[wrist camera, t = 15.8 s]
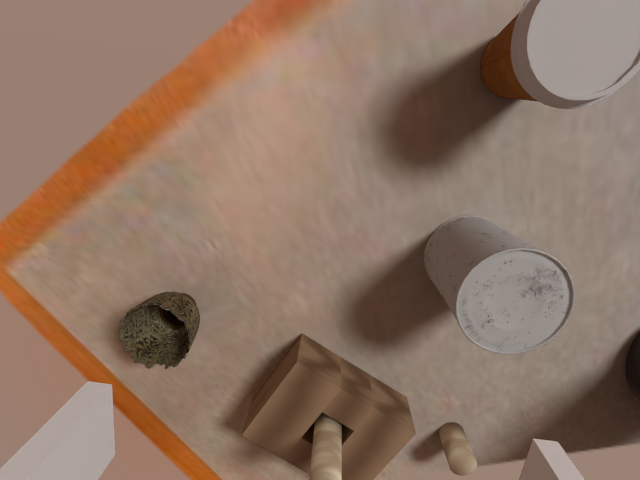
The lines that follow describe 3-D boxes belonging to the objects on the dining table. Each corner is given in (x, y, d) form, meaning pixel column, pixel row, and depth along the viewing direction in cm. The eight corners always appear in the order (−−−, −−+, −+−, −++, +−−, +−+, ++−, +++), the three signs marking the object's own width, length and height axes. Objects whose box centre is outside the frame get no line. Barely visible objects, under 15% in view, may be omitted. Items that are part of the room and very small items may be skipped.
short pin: (468, 430, 49) (482, 462, 44) (452, 446, 50) (465, 479, 45) (449, 418, 49) (461, 449, 44) (433, 434, 50) (443, 467, 45)
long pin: (346, 395, 49) (348, 497, 35) (332, 412, 49) (329, 518, 36) (325, 383, 48) (319, 481, 35) (312, 400, 49) (301, 502, 36)
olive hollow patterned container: (154, 327, 47) (118, 365, 40) (153, 273, 45) (115, 302, 37) (213, 334, 47) (189, 374, 39) (215, 280, 45) (189, 310, 37)
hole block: (406, 397, 48) (415, 433, 43) (352, 457, 51) (354, 499, 46) (301, 333, 46) (296, 362, 41) (252, 400, 49) (241, 435, 44)
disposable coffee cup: (582, 30, 36) (697, -18, 25) (533, 128, 39) (616, 126, 27) (490, -6, 36) (563, -72, 24) (447, 95, 38) (495, 80, 27)
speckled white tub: (504, 294, 44) (565, 355, 32) (421, 294, 44) (451, 354, 33) (514, 214, 41) (585, 247, 29) (425, 215, 42) (460, 248, 30)
